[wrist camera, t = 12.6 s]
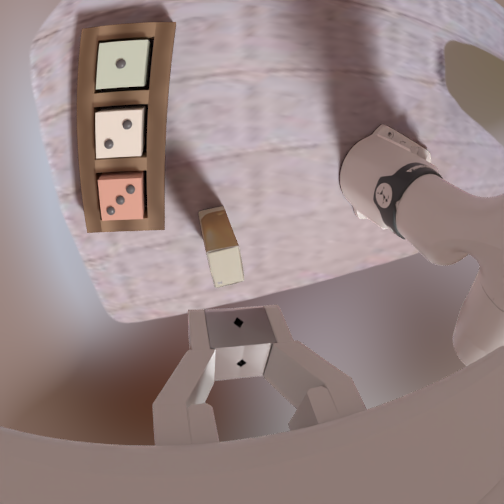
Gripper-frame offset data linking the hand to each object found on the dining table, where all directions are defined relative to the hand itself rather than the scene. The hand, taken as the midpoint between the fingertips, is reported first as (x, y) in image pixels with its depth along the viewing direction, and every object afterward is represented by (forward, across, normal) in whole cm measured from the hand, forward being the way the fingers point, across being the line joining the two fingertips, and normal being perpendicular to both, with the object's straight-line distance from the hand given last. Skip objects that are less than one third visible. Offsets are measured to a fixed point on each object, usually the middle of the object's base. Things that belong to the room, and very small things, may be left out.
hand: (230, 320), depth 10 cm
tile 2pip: (+35, +10, 0) cm, 36 cm away
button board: (+35, +10, 0) cm, 37 cm away
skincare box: (+36, -4, +16) cm, 40 cm away
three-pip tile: (+35, +10, +9) cm, 37 cm away
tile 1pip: (+35, +9, -9) cm, 37 cm away
